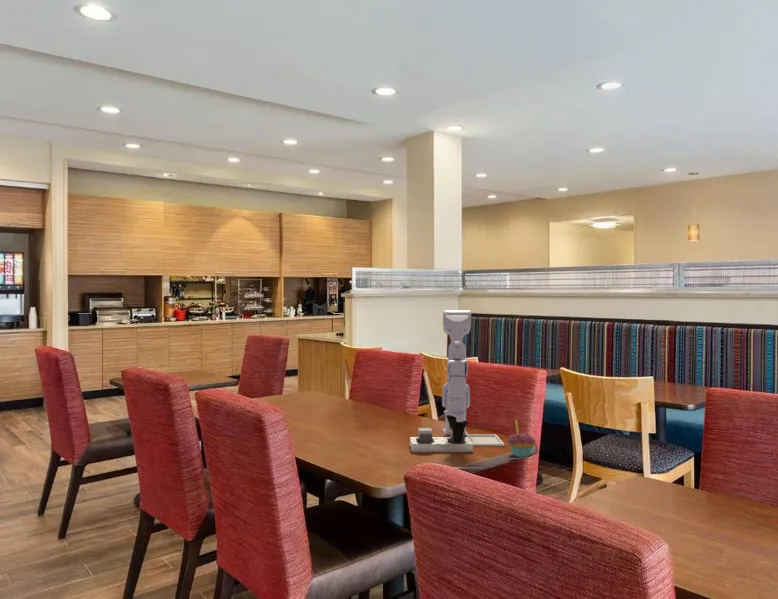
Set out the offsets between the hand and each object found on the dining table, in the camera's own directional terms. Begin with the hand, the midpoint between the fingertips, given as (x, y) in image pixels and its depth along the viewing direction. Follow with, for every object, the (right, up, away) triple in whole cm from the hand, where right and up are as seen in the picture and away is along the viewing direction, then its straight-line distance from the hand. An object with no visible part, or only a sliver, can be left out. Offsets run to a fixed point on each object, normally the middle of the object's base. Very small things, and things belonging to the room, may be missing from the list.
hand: (456, 439), depth 195 cm
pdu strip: (-5, -3, 0) cm, 6 cm away
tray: (+11, -3, +10) cm, 15 cm away
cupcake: (+19, -4, -7) cm, 21 cm away
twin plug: (-10, -3, 0) cm, 10 cm away
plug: (0, -3, 0) cm, 3 cm away
